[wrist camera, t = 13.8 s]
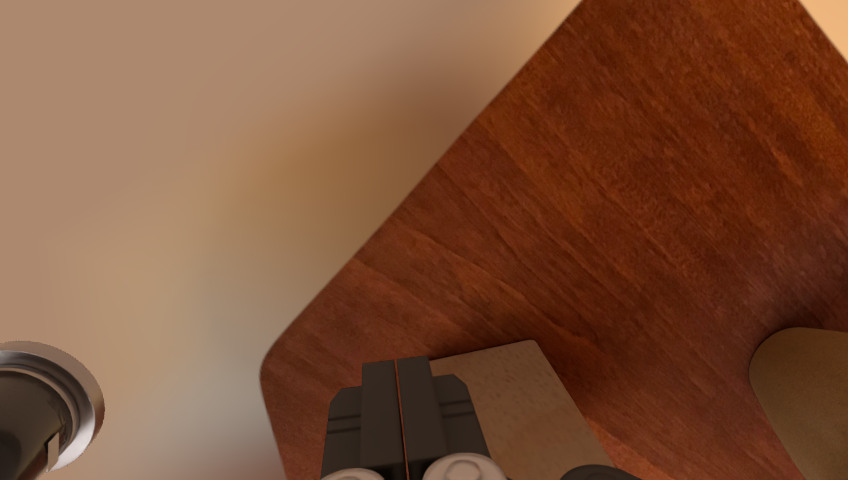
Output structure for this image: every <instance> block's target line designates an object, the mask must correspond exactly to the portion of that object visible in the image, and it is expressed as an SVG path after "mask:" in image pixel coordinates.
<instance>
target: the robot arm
mask: <svg viewBox="0 0 848 480" xmlns="http://www.w3.org/2000/svg"><path fill="white" fill-rule="evenodd" d="M397 366H398V376H399V386H400V395H401V405H402V414H403V424H404V433H405V443H406V452H407V462H408V471H409V479H410V480H512V479H510V478H509V477H507V476H505V474H504V472H503V470H502V469H501V467H500V466H499V465H498V464H497V463H496V462H495V461H493V460H492V459H491V456H490V453H489V450H488V447H487V444H486V441H485V438H484V435H483V432H482V429H481V426H480V423H479V420H478V417H477V414H476V412H475V408H474V405H473V402H472V400H471V396H470V393H469V390H468V387H467V385H466V384H465V383H464V382H463V381H461V380H460V379H459V378H458V377H457V376H455V375H454V374H448V375H441V376H432V372H431V367H430V363H429V358H428V355H426V356H418V357H410V358H402V359H397ZM78 426H79V415H78V410H77V406H76V404H75V402H74V400H73V398H72V396H71V395H70V393H69V392H68V391H67V389H66V388H65V387H64V386H63V385H62V384H61V383H59V382H58V381H57V380H56V379H54V378H53V377H51V376H50V375H48V374H46V373H44V372H42V371H39V370H37V369H34V368H31V367H26V366H21V365H0V480H38V479H39V478H40V477H41V476H42V475H43V474H44V472H45V471H46V470H47V469H48V472H49V471H50V470H51V469H52V468H53V467H54V465H55V464H56V463H57V462H58V457H59V456H60V455H61V454H62V453H63V452H64V451H65V450H66V449H67V448H68V446H69V445H70V444H71V443H72V441H73V440H74V438H75V436H76V434H77V431H78ZM320 480H407V473H406V463H405V452H404V443H403V433H402V424H401V415H400V407H399V398H398V390H397V381H396V372H395V364H394V360H388V361H380V362H372V363H364V364H363V365H362V386H358V387H351V388H343V389H341V390H340V391H339V392H338V393H337V395H336V396H335V397H334V399H333V400H332V401H331V403H330V407H329V415H328V423H327V435H326V439H325V447H324V455H323V463H322V471H321V479H320ZM560 480H642V479H640V478H638V477H636V476H633V475H631V474H629V473H627V472H625V471H623V470H620V469H618V468H615V467H611V466H607V465H599V464H589V465H582V466H578V467H575V468H573V469H571V470H569V471H568V472H566V473H565V474H564V475H563V476H562V477H561V478H560Z"/></svg>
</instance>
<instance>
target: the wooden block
mask: <svg viewBox="0 0 848 480" xmlns="http://www.w3.org/2000/svg"><path fill="white" fill-rule="evenodd" d="M429 363H430V367H431V372H432V376H441V375H448V374H454V375H455V376H457V377H458V378H459V379H460V380H461V381H463V382H464V383H465V384H466V385H467V387H468V390H469V393H470V396H471V400H472V402H473V405H474V408H475V412H476V414H477V417H478V420H479V423H480V426H481V429H482V432H483V435H484V438H485V441H486V444H487V447H488V450H489V453H490V456H491V459H492V460H493V461H495V462H496V463H497V464H498V465H499V466H500V467H501V469H502V470H503V472H504V474H505V476H507V477H509V478H510V479H512V480H560V478H561V477H562V476H563V475H564V474H565V473H566V472H568V471H569V470H571V469H573V468H575V467H578V466H582V465H589V464H599V465H607V466H611V467H615V466H614V464H613V463H612V461H611V460H610V458H609V457H608V455H607V453H606V452H605V450H604V449H603V447H602V446H601V444H600V442H599V441H598V439H597V438H596V436H595V434H594V433H593V431H592V430H591V428H590V427H589V425H588V423H587V422H586V420H585V419H584V417H583V416H582V414H581V412H580V411H579V409H578V408H577V406H576V404H575V403H574V401H573V400H572V398H571V397H570V395H569V393H568V392H567V390H566V389H565V387H564V386H563V384H562V382H561V381H560V379H559V378H558V376H557V374H556V373H555V371H554V370H553V368H552V367H551V365H550V363H549V362H548V360H547V359H546V357H545V356H544V354H543V352H542V351H541V349H540V348H539V346H538V344H537V343H536V341H534V340H526V341H522V342H517V343H512V344H508V345H503V346H498V347H493V348H489V349H484V350H479V351H474V352H470V353H465V354H460V355H455V356H451V357H446V358H441V359H436V360H432V361H429Z"/></svg>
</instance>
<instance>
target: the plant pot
mask: <svg viewBox="0 0 848 480" xmlns="http://www.w3.org/2000/svg"><path fill="white" fill-rule="evenodd" d="M749 380H750V383H751V386H752V388H753V390H754V392H755V394H756V397H757V399H758V401H759V403H760V405H761V407H762V409H763V411H764V413H765V415H766V417H767V418H768V420H769V422H770V424H771V426H772V427H773V429H774V431H775V433H776V434H777V436H778V438H779V439H780V441H781V443H782V444H783V446H784V448H785V449H786V451H787V452H788V454H789V456H790V457H791V459H792V460H793V462H794V463H795V465H796V466H797V468H798V469H799V471H800V472H801V473H802V475H803V476H804V478H805V479H806V480H848V333H845V332H838V331H831V330H823V329H814V328H804V327H793V328H788V329H784V330H781V331H779V332H776V333H775V334H773V335H771V336H770V337H768V338H767V339H766V340H765V341H764V342H763V343H762V344H761V345H760V346H759V347H758V348H757V350H756V351H755V353H754V355H753V357H752V359H751V362H750V366H749Z"/></svg>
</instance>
